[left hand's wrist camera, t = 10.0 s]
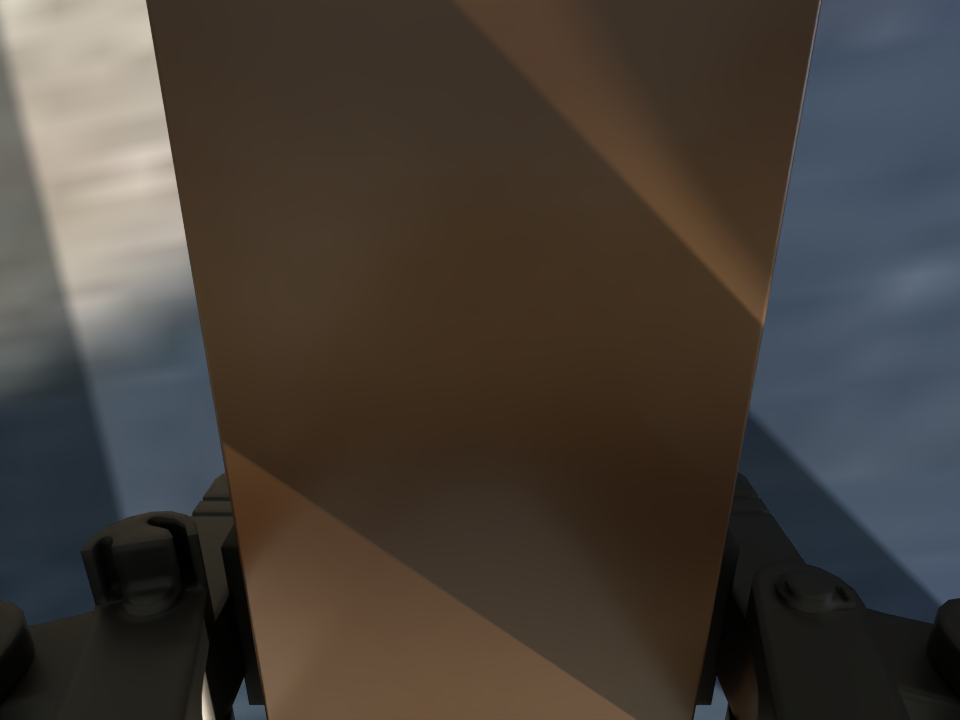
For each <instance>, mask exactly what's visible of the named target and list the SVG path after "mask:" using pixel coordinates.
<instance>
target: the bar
mask: <svg viewBox="0 0 960 720" xmlns="http://www.w3.org/2000/svg"><path fill="white" fill-rule="evenodd" d="M146 3H147V9H148V15H149V21H150V27H151V33H152V39H153V45H154V50H155V56H156V62H157V68H158V74H159V80H160V86H161V92H162V98H163V104H164V110H165V116H166V122H167V128H168V134H169V140H170V146H171V152H172V158H173V163H174V169H175V175H176V181H177V187H178V193H179V199H180V205H181V211H182V217H183V223H184V229H185V235H186V241H187V247H188V253H189V259H190V265H191V270H192V276H193V282H194V288H195V294H196V300H197V306H198V312H199V318H200V324H201V330H202V336H203V342H204V348H205V354H206V360H207V366H208V372H209V378H210V383H211V389H212V395H213V401H214V407H215V413H216V419H217V425H218V431H219V437H220V443H221V449H222V455H223V461H224V467H225V473H226V479H227V485H228V490H229V496H230V502H231V508H232V514H233V520H234V526H235V532H236V538H237V544H238V550H239V556H240V562H241V568H242V574H243V580H244V586H245V592H246V598H247V603H248V609H249V615H250V621H251V627H252V633H253V639H254V645H255V651H256V657H257V663H258V669H259V675H260V681H261V687H262V693H263V699H264V705H265V710H266V716H267V720H693V719H694V713H695V708H696V702H697V697H698V691H699V685H700V680H701V674H702V669H703V663H704V657H705V652H706V646H707V641H708V635H709V629H710V624H711V618H712V613H713V607H714V601H715V596H716V590H717V585H718V579H719V574H720V568H721V562H722V557H723V551H724V546H725V540H726V534H727V529H728V523H729V518H730V512H731V506H732V501H733V495H734V490H735V484H736V478H737V473H738V467H739V462H740V456H741V450H742V445H743V439H744V434H745V428H746V423H747V417H748V411H749V406H750V400H751V395H752V389H753V383H754V378H755V372H756V367H757V361H758V355H759V350H760V344H761V339H762V333H763V327H764V322H765V316H766V311H767V305H768V299H769V294H770V288H771V283H772V277H773V272H774V266H775V260H776V255H777V249H778V244H779V238H780V232H781V227H782V221H783V216H784V210H785V204H786V199H787V193H788V188H789V182H790V176H791V171H792V165H793V160H794V154H795V148H796V143H797V137H798V132H799V126H800V121H801V115H802V109H803V104H804V98H805V93H806V87H807V81H808V76H809V70H810V65H811V59H812V53H813V48H814V42H815V37H816V31H817V25H818V20H819V14H820V9H821V3H822V0H146Z"/></svg>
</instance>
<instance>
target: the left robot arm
mask: <svg viewBox="0 0 960 720" xmlns="http://www.w3.org/2000/svg"><path fill="white" fill-rule="evenodd" d="M81 555H82V558H83V562H84V565H85V569H86V572H87V576H88V579H89V583H90V587H91V590H92V594H93V597H94V601H95V604H96V606H95V608H94V611H92V612H89V613H85V614H82V615H78V616H74V617H70V618H65V619H61V620H56V621H52V622H47V623H43V624H38V625H34V626H29V627H28V625H27V622H26V619H25V616H24V613H23V611H22V610H21V609H20V608H19V607H18V606H16V605H15V604H14V603H12V602H6V601H0V720H235V717H234V712H233V707H232V705H233V703H234V700H235V698H236V696H237V693H238V691H239V688H240V686H241V683H242V681H243V678H245V684H246V689H247V694H248V700H249V705H264V699H263V693H262V687H261V681H260V675H259V669H258V663H257V657H256V651H255V645H254V639H253V633H252V627H251V621H250V615H249V609H248V603H247V598H246V592H245V586H244V580H243V574H242V568H241V562H240V556H239V550H238V544H237V538H236V532H235V526H234V520H233V514H232V508H231V502H230V496H229V490H228V485H227V479H226V473H224V474H222V475H221V476H219V477H218V478H216V479H215V481H214V482H213V484H212V485H211V487H210V488H209V489H208V491H207V492H206V494H205V495H204V497H203V501H200V502H199V504H198V505H197V507H196V508H195V510H194V511H193V515H192V516H190V517H189V516H187V515H185V514H181V513H177V512H172V511H163V512H149V513H144V514H140V515H136V516H132V517H128V518H126V519H124V520H121V521H119V522H117V523H114V524H112V525H110V526H108V527H106V528H105V529H103V530H102V531H101V532H99V533H98V534H96V535H95V536H93V537H92V538H91V539H90V540H89V541H88V543H87V544H86V545H85V546H84V548H83V549H82V550H81ZM716 675H717V676H718V679H719V681H720V684H721V686H722V689H723V691H724V694H725V696H726V698H727V701H728V707H727V712H726V717H725V720H960V598H958V599H951V600H948V601H947V602H946V603H944V604H943V605H942V606H941V607H939V609H938V612H937V615H936V618H935V621H934V624H930V623H925V622H921V621H916V620H912V619H907V618H903V617H898V616H894V615H889V614H885V613H881V612H878V611H874V610H871V609H867V608H866V607H865V605H864V603H863V602H862V600H861V599H860V597H859V596H858V594H857V593H856V591H855V590H854V589H853V588H851V587H850V586H849V585H848V584H846V583H845V582H844V581H843V580H841V579H840V578H839V577H837V576H835V575H833V574H831V573H829V572H827V571H825V570H823V569H821V568H819V567H815V566H811V565H808V564H806V563H805V562H804V560H803V559H802V557H801V556H800V555H799V553H798V552H797V550H796V549H795V547H794V546H793V545H792V543H791V542H790V540H789V539H788V537H787V536H786V535H785V533H784V532H783V530H782V529H781V527H780V526H779V525H778V523H777V522H776V520H775V519H774V517H773V516H772V515H771V514H769V513H768V509H767V507H766V506H765V505H764V503H763V502H762V500H761V499H758V495H757V493H756V492H755V490H754V489H753V487H752V486H751V485H750V483H749V482H748V480H747V479H746V477H744V476H743V475H742V474H740V473H739V472H738V473H737V478H736V484H735V490H734V495H733V501H732V506H731V512H730V518H729V523H728V529H727V534H726V540H725V546H724V551H723V557H722V562H721V568H720V574H719V579H718V585H717V590H716V596H715V601H714V607H713V613H712V618H711V624H710V629H709V635H708V641H707V646H706V652H705V657H704V663H703V669H702V674H701V680H700V685H699V691H698V697H697V702H696V705H711V702H712V697H713V692H714V686H715V681H716Z"/></svg>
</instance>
